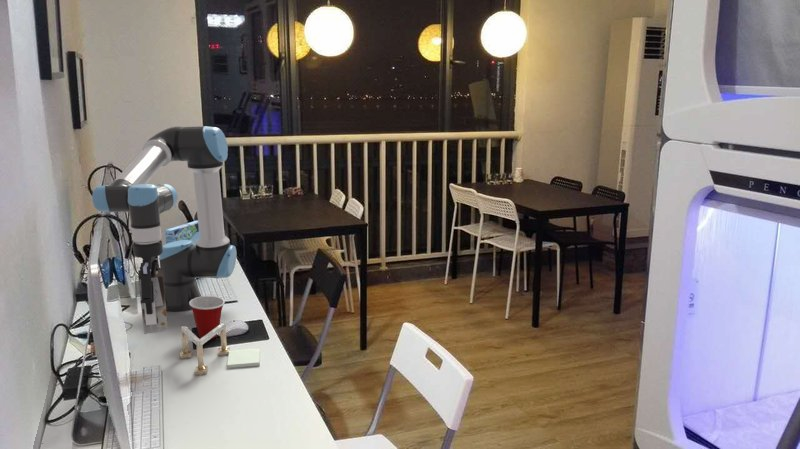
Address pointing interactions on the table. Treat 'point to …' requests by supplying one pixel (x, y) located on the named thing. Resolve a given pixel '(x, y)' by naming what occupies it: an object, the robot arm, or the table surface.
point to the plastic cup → (207, 313)
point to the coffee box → (156, 304)
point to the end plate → (244, 358)
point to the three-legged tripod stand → (199, 342)
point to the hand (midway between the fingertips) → (154, 317)
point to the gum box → (183, 233)
